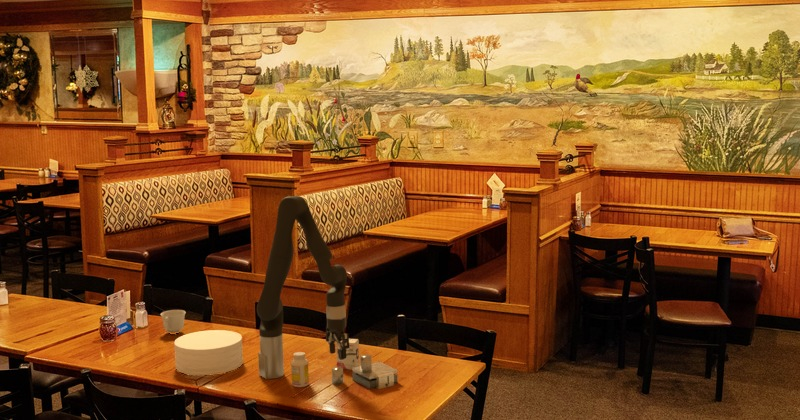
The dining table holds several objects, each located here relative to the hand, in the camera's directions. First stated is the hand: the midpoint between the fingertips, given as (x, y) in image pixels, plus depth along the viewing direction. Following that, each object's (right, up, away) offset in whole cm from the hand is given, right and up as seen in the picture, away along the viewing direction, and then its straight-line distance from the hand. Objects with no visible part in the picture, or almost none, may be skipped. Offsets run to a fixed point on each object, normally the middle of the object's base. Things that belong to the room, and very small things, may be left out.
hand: (338, 355), depth 333 cm
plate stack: (-57, -9, +26) cm, 63 cm away
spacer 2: (+11, -6, 0) cm, 13 cm away
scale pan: (+14, -8, +2) cm, 17 cm away
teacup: (-85, -2, +73) cm, 112 cm away
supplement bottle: (-15, -12, 0) cm, 19 cm away
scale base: (+15, -11, +2) cm, 19 cm away
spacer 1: (0, -11, +1) cm, 11 cm away
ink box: (+3, -9, +20) cm, 22 cm away
